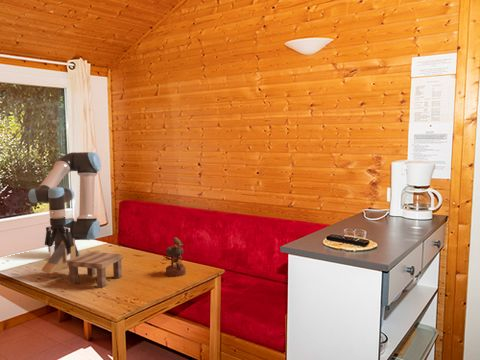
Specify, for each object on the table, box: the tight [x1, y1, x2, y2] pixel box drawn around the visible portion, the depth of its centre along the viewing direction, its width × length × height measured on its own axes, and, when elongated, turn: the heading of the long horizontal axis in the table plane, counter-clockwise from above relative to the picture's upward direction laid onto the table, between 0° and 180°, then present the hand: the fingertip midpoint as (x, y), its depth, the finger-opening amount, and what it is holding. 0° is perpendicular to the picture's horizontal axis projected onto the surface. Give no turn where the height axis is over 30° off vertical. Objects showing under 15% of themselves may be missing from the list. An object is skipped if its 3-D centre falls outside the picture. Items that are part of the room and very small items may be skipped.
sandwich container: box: [40, 238, 76, 274], centre depth 219 cm, size 9×15×15 cm, turn 146°
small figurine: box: [163, 237, 187, 278], centre depth 223 cm, size 15×11×20 cm
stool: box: [67, 251, 124, 289], centre depth 214 cm, size 20×18×12 cm
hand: (60, 258), depth 220 cm, fingers closed on sandwich container, 9 cm apart
